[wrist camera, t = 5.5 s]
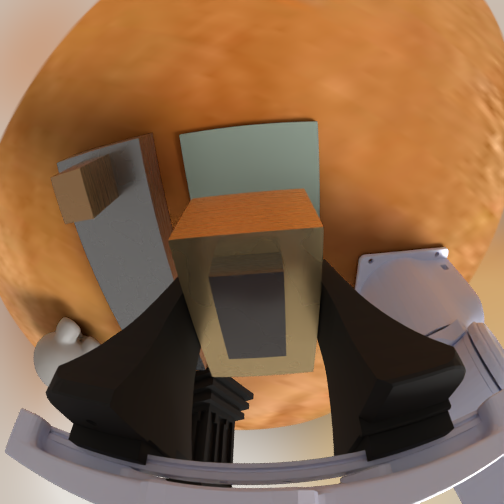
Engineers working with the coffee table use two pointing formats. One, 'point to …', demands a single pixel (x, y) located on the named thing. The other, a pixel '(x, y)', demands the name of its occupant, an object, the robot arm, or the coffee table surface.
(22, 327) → the coffee table surface
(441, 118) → the coffee table surface
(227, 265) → the pale yellow block
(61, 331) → the chubby cartoon animal
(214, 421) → the chess piece
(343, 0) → the coffee table surface
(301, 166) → the rubber mat
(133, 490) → the robot arm
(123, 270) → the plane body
